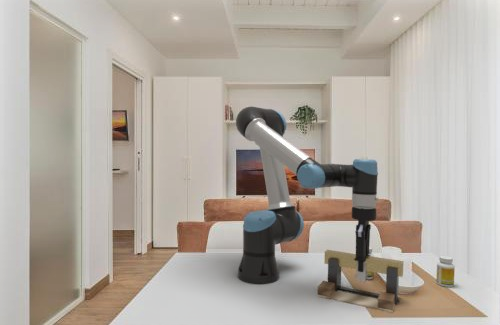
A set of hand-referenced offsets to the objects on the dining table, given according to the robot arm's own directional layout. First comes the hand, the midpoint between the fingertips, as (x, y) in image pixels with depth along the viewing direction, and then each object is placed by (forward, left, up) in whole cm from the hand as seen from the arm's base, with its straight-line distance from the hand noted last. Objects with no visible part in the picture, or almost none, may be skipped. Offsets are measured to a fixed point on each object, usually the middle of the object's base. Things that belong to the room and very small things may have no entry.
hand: (361, 279), depth 110 cm
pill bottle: (-2, +17, -5) cm, 18 cm away
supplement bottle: (+24, +24, -5) cm, 34 cm away
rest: (-1, -6, -5) cm, 8 cm away
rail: (0, 0, +3) cm, 3 cm away
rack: (0, 0, -5) cm, 5 cm away
